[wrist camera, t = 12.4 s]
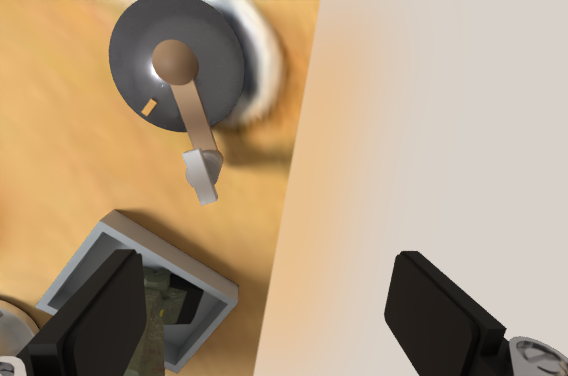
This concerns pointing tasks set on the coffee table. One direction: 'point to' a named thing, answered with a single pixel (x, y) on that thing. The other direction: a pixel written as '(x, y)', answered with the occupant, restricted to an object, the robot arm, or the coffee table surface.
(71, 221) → the coffee table surface
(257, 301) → the coffee table surface
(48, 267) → the coffee table surface
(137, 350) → the mechanical leg
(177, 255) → the tray
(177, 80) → the crank
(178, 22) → the crank base
